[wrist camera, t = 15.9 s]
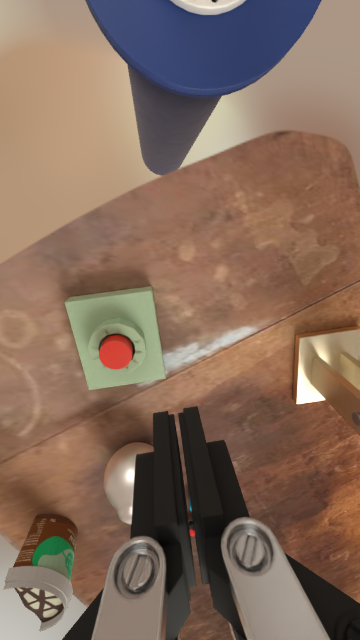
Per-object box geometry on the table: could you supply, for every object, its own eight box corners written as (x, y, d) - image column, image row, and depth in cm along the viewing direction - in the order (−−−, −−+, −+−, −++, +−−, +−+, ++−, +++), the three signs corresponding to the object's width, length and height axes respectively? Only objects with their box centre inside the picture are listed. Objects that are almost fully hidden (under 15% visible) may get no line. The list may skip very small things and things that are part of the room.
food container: (94, 545, 49) (82, 622, 40) (61, 554, 49) (41, 633, 40) (68, 500, 45) (47, 574, 36) (32, 510, 45) (1, 587, 36)
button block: (69, 297, 33) (59, 307, 30) (151, 285, 34) (152, 294, 30) (92, 381, 38) (85, 399, 34) (165, 370, 38) (166, 386, 34)
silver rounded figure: (111, 477, 44) (101, 548, 35) (106, 431, 41) (92, 495, 31) (168, 473, 45) (172, 540, 36) (167, 426, 42) (171, 487, 32)
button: (98, 336, 32) (95, 343, 30) (129, 332, 32) (128, 338, 30) (105, 364, 33) (102, 371, 31) (135, 359, 33) (134, 367, 31)
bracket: (295, 334, 38) (360, 388, 26) (357, 325, 39) (449, 374, 27) (292, 399, 42) (348, 472, 30) (348, 390, 43) (425, 458, 31)
